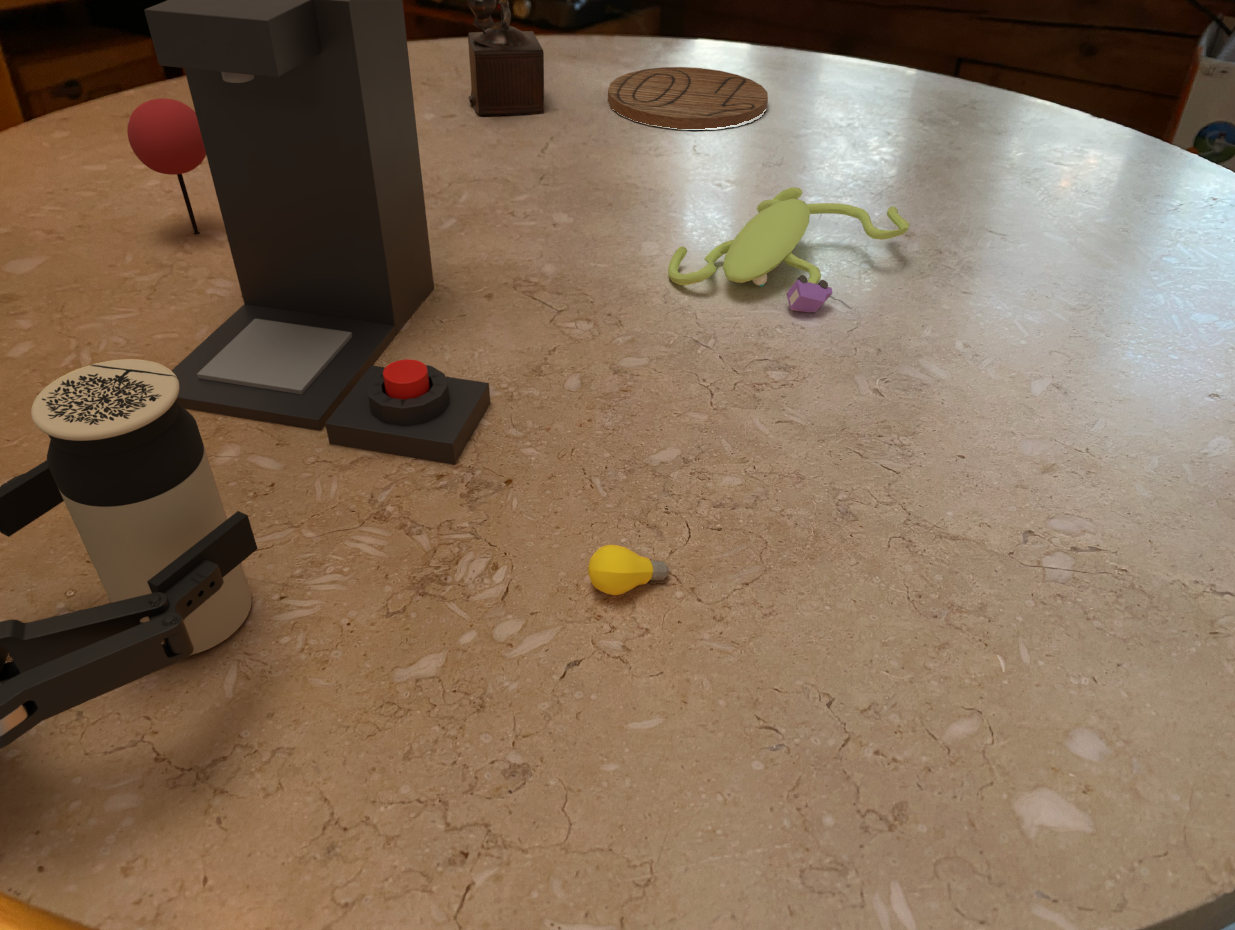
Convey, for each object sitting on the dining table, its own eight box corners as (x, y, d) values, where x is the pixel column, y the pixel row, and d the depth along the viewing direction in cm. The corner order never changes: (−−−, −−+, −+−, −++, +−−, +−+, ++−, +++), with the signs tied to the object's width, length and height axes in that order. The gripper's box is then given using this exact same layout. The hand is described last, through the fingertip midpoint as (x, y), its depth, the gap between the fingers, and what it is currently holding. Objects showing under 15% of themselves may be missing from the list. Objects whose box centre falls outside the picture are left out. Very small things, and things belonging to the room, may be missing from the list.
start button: (378, 397, 77) (375, 379, 76) (396, 374, 80) (393, 356, 79) (419, 403, 77) (417, 385, 75) (435, 379, 79) (434, 362, 78)
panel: (329, 444, 78) (320, 405, 75) (374, 385, 85) (368, 347, 82) (454, 465, 76) (450, 425, 74) (490, 403, 83) (487, 365, 80)
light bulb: (577, 581, 66) (586, 535, 65) (653, 582, 69) (663, 538, 68) (593, 603, 63) (603, 555, 62) (672, 604, 66) (683, 557, 65)
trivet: (774, 87, 155) (775, 75, 154) (757, 139, 136) (758, 125, 135) (627, 73, 159) (627, 61, 158) (590, 121, 140) (590, 108, 139)
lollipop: (203, 214, 112) (168, 84, 102) (244, 231, 108) (212, 98, 99) (145, 236, 107) (103, 102, 98) (186, 255, 104) (147, 118, 94)
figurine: (918, 252, 109) (930, 206, 105) (794, 340, 92) (802, 289, 89) (784, 206, 118) (790, 162, 114) (649, 279, 102) (651, 231, 98)
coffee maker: (151, 403, 82) (22, 37, 63) (294, 269, 102) (229, -40, 83) (320, 431, 79) (239, 58, 60) (434, 288, 99) (399, -26, 80)
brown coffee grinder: (466, 95, 148) (456, -32, 137) (535, 92, 150) (532, -33, 139) (476, 129, 136) (467, -6, 125) (551, 125, 138) (549, -8, 127)
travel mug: (202, 675, 59) (112, 450, 48) (99, 642, 61) (-11, 418, 50) (276, 589, 65) (212, 370, 54) (180, 561, 67) (99, 344, 56)
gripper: (-304, 697, 50) (51, 476, 64) (3, 925, 41) (333, 608, 56) (-397, 600, 45) (9, 385, 60) (-72, 834, 36) (310, 514, 51)
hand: (166, 492), depth 58 cm, fingers open, 13 cm apart
